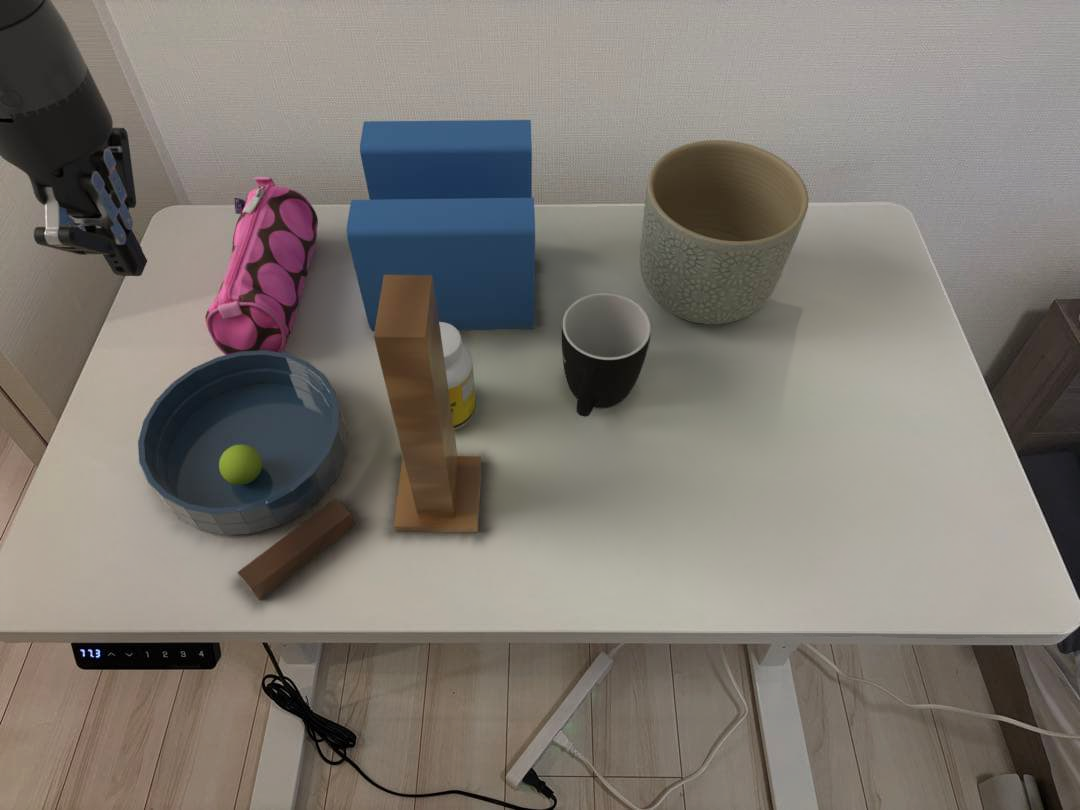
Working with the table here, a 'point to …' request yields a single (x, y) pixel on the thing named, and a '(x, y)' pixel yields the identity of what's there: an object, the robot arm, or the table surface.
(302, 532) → the stick
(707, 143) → the planter
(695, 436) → the table surface
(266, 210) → the pencil case
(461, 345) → the pill bottle
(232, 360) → the bowl
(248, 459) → the grape
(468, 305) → the block
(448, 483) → the stand
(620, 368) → the mug
